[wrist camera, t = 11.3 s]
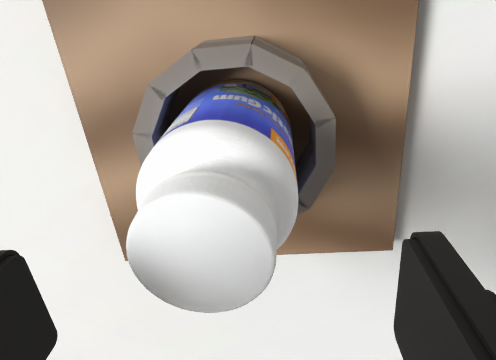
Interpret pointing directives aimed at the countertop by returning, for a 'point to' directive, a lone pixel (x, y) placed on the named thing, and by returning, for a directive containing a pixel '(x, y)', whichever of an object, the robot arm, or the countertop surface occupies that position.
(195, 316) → the countertop surface
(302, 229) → the base
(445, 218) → the countertop surface
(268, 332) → the countertop surface
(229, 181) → the pill bottle
